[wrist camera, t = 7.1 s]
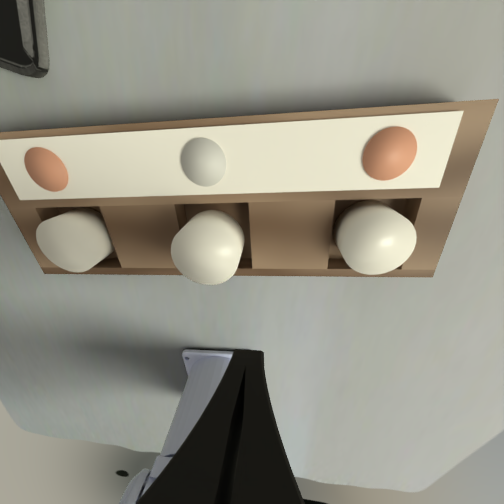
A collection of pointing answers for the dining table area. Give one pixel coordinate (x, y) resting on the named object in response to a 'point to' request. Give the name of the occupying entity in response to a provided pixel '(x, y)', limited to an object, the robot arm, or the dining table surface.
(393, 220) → the end button
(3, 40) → the phone
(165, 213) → the button board
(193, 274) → the middle button
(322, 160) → the pattern card
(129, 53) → the dining table surface
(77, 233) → the end button
